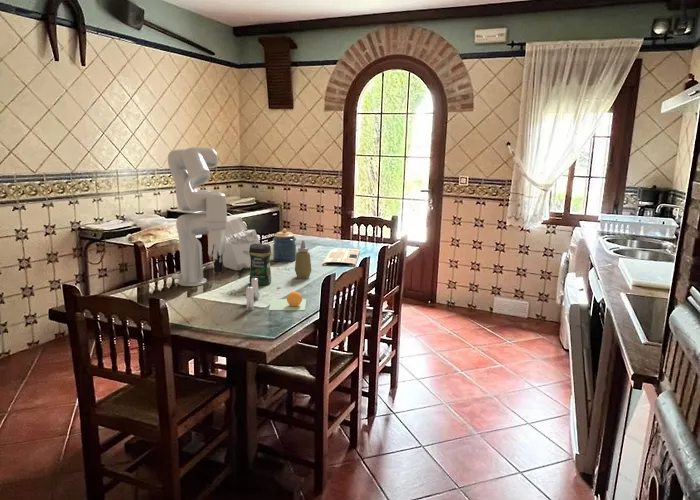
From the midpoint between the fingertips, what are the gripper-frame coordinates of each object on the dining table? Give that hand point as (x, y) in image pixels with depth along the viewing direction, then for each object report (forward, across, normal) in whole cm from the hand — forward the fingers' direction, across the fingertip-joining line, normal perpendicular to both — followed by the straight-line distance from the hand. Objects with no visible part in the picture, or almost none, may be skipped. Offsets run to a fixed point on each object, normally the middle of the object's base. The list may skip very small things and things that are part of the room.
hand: (218, 271), depth 197 cm
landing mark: (+13, 0, +27) cm, 30 cm away
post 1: (+13, +7, +13) cm, 20 cm away
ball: (+10, +2, +30) cm, 32 cm away
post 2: (+13, -6, +13) cm, 20 cm away
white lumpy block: (+14, -62, -4) cm, 64 cm away
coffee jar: (+14, -32, +12) cm, 37 cm away
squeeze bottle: (+14, -44, +31) cm, 56 cm away
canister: (+14, -82, +19) cm, 85 cm away
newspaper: (+14, -87, +50) cm, 101 cm away
